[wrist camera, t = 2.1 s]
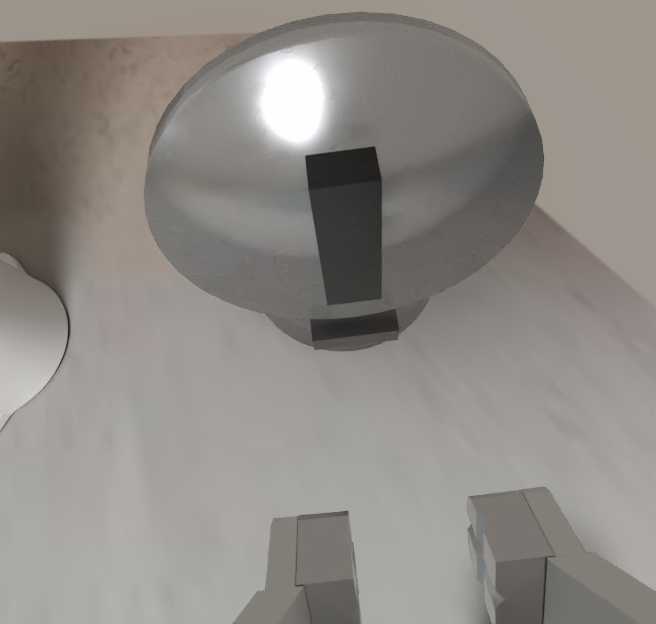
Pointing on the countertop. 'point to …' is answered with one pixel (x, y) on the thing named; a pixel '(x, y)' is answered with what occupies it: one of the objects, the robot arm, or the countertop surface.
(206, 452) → the countertop surface
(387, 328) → the cooker pot
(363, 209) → the cooker lid
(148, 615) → the countertop surface
